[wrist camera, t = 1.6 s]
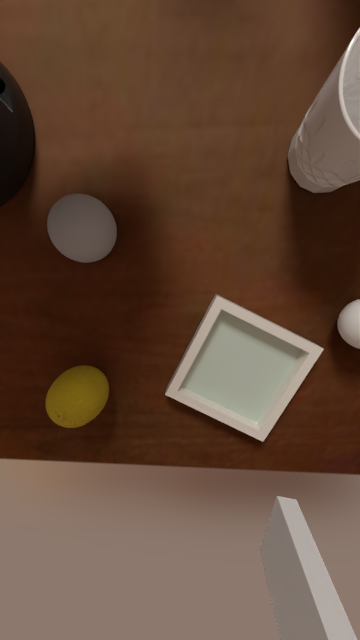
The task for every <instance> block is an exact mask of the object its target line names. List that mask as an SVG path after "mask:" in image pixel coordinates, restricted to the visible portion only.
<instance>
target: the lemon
mask: <svg viewBox="0 0 360 640" xmlns="http://www.w3.org/2000/svg"><path fill="white" fill-rule="evenodd" d="M108 396H109V383H108V380H107V378H106V376H105V375H104V373H102V372H101V371H100V370H99V369H97V368H95V367H92V366H89V365H81V366H76V367H73V368H71V369H69V370H67V371H65V372H63V373H62V374H61V375H60V376H59V377H58V378H57V379H56V380H55V381H54V382H53V384H52V386H51V387H50V389H49V391H48V393H47V397H46V411H47V414H48V415H49V417H50V419H51V420H52V421H53V422H54V423H56V424H57V425H59V426H62V427H66V428H76V427H80V426H83V425H85V424H86V423H88V422H90V421H91V420H93V419H94V418H95V417H96V416H97V415H98V414H99V413H100V412H101V411H102V409H103V408H104V406H105V404H106V402H107V400H108Z"/></svg>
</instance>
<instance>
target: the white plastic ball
mask: <svg viewBox="0 0 360 640" xmlns="http://www.w3.org/2000/svg"><path fill="white" fill-rule="evenodd" d="M337 327H338V331H339V333H340V335H341V337H342V338H343V339H344V340H345V341H346V342H347V343H348V344H350V345H351V346H353V347H355V348H358V349H360V299H358V300H355V301H353V302H351V303H349V304H348V305H347V306H346V307H344V308H343V310H342V311H341V312H340V314H339V317H338V321H337Z"/></svg>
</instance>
